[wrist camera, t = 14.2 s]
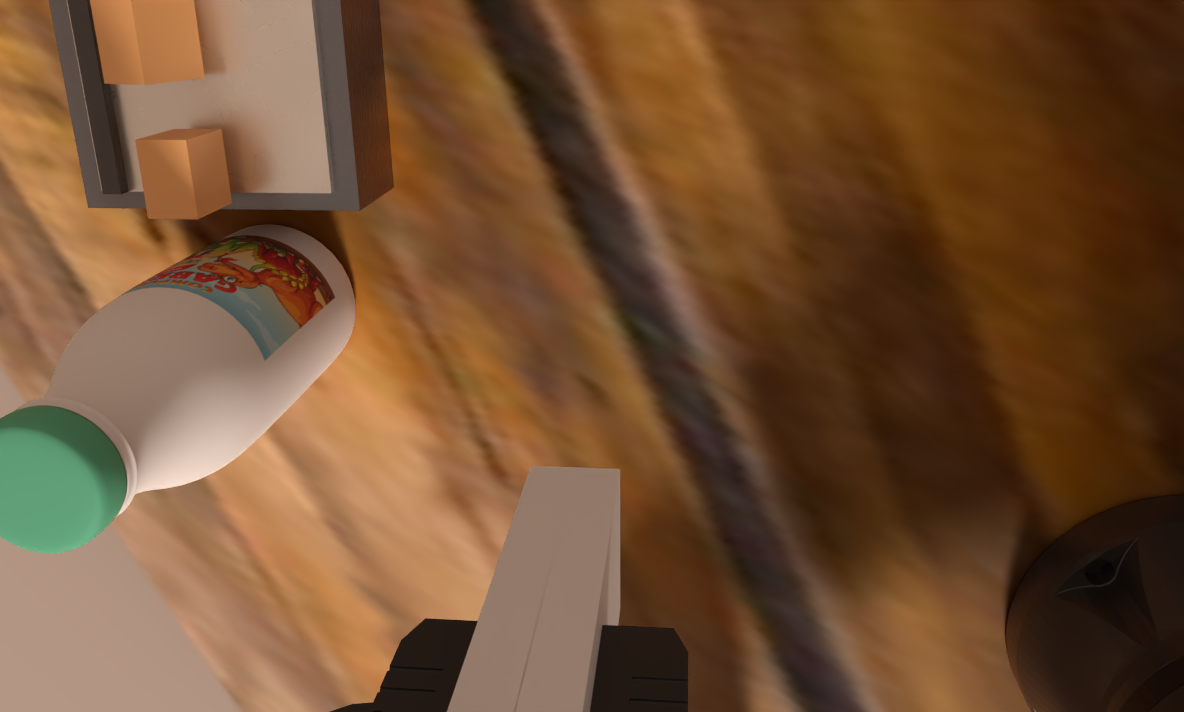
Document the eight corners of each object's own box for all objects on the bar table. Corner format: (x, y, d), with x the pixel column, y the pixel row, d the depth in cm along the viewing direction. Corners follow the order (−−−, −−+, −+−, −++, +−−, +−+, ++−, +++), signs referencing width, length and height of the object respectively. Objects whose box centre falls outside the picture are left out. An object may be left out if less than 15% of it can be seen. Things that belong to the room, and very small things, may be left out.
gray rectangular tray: (366, -148, 41) (315, -168, 36) (393, 187, 46) (352, 215, 41) (93, -141, 43) (1, -160, 37) (148, 185, 47) (74, 212, 42)
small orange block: (193, -4, 38) (130, -3, 35) (204, 78, 39) (144, 84, 36) (154, -4, 39) (89, -2, 36) (166, 76, 40) (104, 83, 37)
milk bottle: (390, 330, 49) (201, 545, 30) (266, 395, 51) (17, 635, 32) (301, 192, 47) (41, 331, 28) (176, 265, 49) (-145, 441, 30)
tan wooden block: (221, 129, 40) (186, 140, 37) (231, 203, 41) (198, 219, 38) (173, 129, 40) (134, 139, 37) (185, 202, 41) (148, 218, 38)
